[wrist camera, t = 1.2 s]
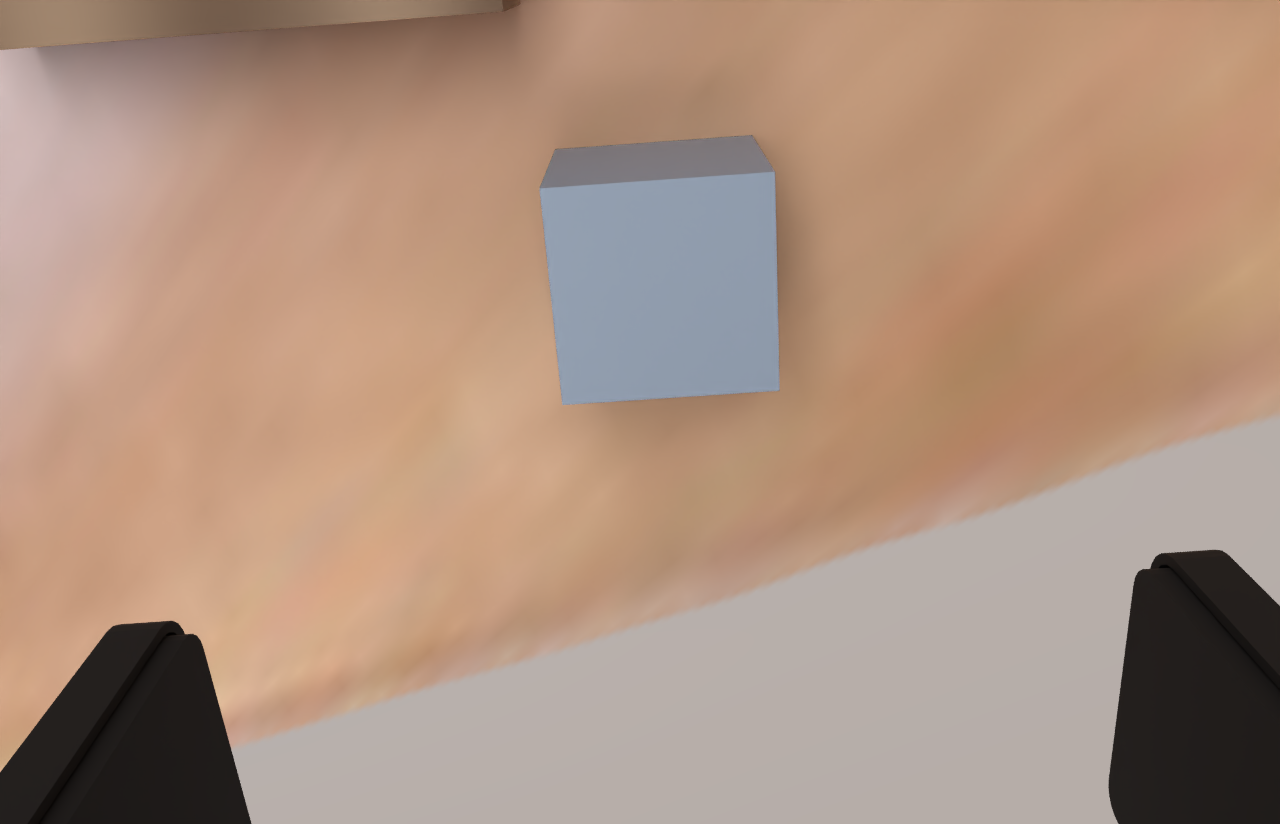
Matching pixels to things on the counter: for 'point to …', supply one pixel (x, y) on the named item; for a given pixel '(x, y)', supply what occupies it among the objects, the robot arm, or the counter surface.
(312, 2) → the walnut block
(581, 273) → the slate cube
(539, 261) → the counter surface
